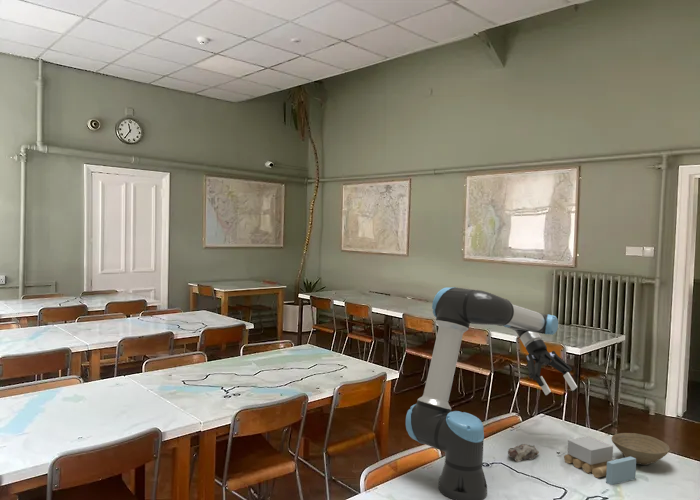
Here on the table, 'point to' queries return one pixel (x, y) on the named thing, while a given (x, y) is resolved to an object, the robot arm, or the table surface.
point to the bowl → (640, 447)
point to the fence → (621, 470)
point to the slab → (590, 450)
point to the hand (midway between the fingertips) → (561, 391)
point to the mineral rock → (523, 452)
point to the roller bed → (588, 466)
